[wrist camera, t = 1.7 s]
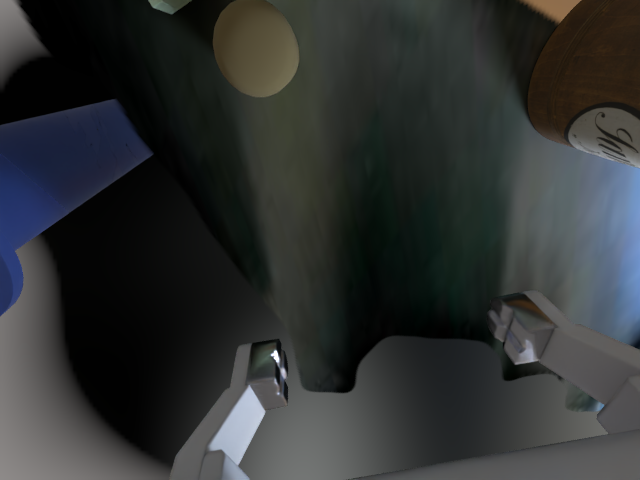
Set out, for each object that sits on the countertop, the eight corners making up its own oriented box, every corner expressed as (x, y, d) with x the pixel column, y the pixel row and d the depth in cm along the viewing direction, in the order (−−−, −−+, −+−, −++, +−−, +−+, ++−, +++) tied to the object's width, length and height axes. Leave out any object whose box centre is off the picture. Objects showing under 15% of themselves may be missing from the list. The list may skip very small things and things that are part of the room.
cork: (261, -9, 23) (242, -53, 14) (312, 54, 26) (325, 51, 16) (218, 53, 25) (177, 49, 16) (270, 105, 28) (261, 128, 18)
